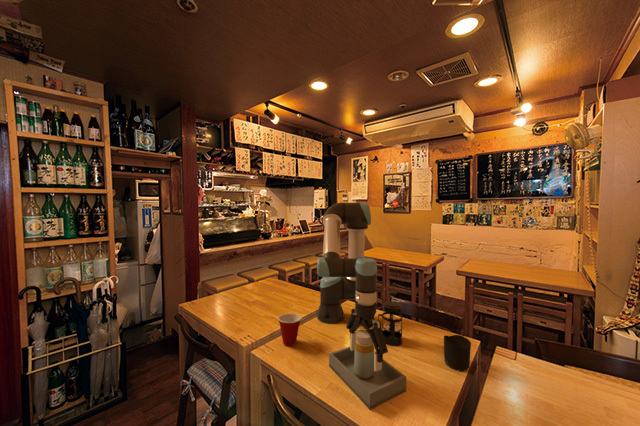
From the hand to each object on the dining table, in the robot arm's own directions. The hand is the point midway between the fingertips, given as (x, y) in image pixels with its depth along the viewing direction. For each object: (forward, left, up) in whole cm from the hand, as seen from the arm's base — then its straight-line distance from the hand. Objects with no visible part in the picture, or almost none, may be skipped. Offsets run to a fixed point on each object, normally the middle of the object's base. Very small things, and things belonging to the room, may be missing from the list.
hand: (365, 359), depth 92 cm
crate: (0, 0, -7) cm, 7 cm away
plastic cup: (+15, -35, -7) cm, 39 cm away
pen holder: (-37, +12, -7) cm, 39 cm away
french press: (-27, -14, -7) cm, 31 cm away
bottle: (0, 0, -6) cm, 6 cm away
